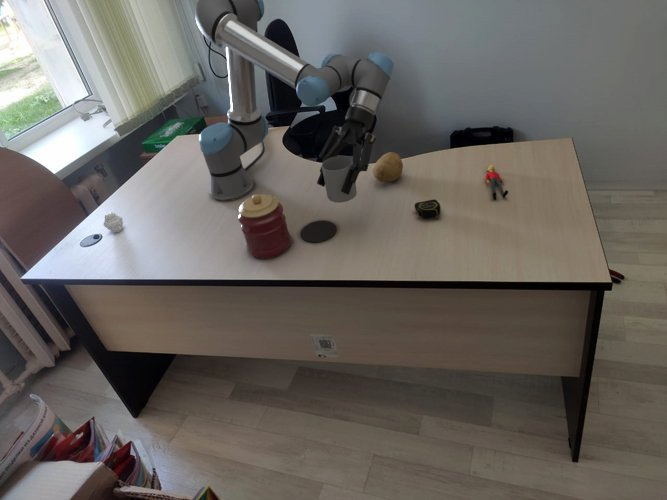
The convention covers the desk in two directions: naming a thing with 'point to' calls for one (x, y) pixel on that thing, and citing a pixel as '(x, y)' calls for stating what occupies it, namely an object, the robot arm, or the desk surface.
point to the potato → (388, 167)
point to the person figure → (495, 181)
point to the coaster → (318, 231)
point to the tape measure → (428, 209)
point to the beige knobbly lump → (113, 222)
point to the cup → (337, 178)
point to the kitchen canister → (264, 226)
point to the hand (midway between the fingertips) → (332, 188)
